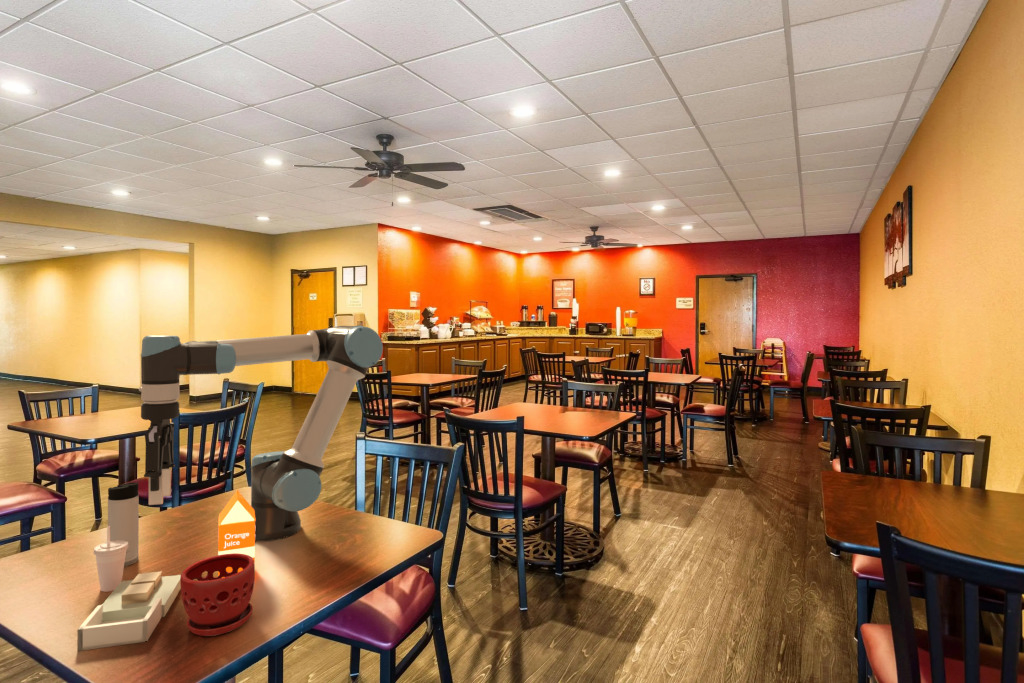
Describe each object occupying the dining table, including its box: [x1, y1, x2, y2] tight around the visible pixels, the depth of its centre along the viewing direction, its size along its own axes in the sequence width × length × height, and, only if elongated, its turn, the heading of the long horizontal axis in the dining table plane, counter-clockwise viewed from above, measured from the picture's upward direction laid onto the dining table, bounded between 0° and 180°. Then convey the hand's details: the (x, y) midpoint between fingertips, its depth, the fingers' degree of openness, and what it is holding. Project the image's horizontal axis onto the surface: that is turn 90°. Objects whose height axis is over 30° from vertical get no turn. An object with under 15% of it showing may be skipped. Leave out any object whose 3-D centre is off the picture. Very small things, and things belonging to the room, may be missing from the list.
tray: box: [76, 598, 163, 652], centre depth 105 cm, size 11×9×4 cm
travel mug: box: [107, 482, 140, 568], centre depth 135 cm, size 6×7×20 cm
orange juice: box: [217, 489, 256, 578], centre depth 128 cm, size 8×9×20 cm
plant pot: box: [180, 553, 256, 637], centre depth 108 cm, size 13×13×12 cm
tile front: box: [121, 582, 154, 605], centre depth 113 cm, size 4×4×2 cm
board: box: [101, 574, 181, 622], centre depth 116 cm, size 12×14×2 cm
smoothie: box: [92, 525, 129, 593], centre depth 122 cm, size 6×6×14 cm
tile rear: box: [131, 570, 163, 590], centre depth 118 cm, size 4×4×2 cm
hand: (159, 499), depth 127 cm, fingers open, 5 cm apart
